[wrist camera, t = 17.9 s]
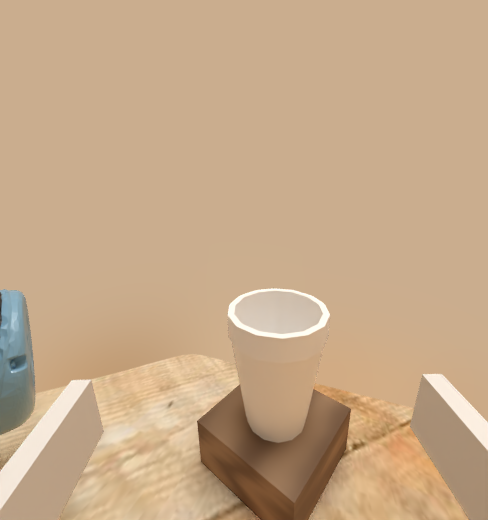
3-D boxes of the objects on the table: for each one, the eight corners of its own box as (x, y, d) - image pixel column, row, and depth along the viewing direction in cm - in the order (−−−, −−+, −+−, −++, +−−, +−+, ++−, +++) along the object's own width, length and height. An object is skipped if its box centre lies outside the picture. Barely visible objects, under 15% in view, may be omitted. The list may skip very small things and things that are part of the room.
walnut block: (201, 461, 32) (197, 421, 30) (264, 397, 40) (264, 363, 39) (292, 549, 24) (294, 503, 22) (345, 448, 33) (350, 408, 31)
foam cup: (339, 435, 28) (352, 321, 24) (256, 475, 25) (255, 350, 20) (288, 374, 36) (291, 282, 32) (221, 398, 33) (215, 298, 29)
